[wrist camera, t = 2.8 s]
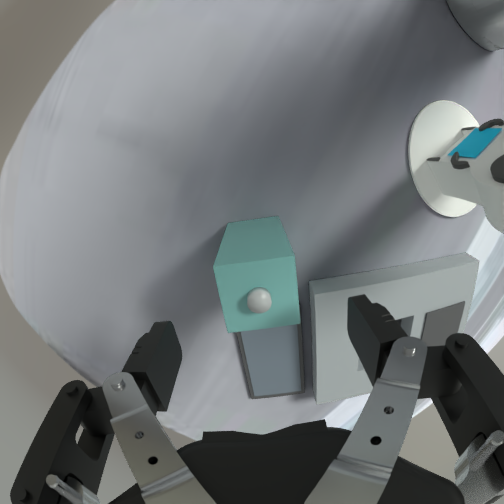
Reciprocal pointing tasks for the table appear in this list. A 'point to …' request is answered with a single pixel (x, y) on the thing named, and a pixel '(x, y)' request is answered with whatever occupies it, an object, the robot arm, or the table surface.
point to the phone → (273, 360)
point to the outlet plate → (400, 307)
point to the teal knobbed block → (257, 276)
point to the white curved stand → (458, 161)
